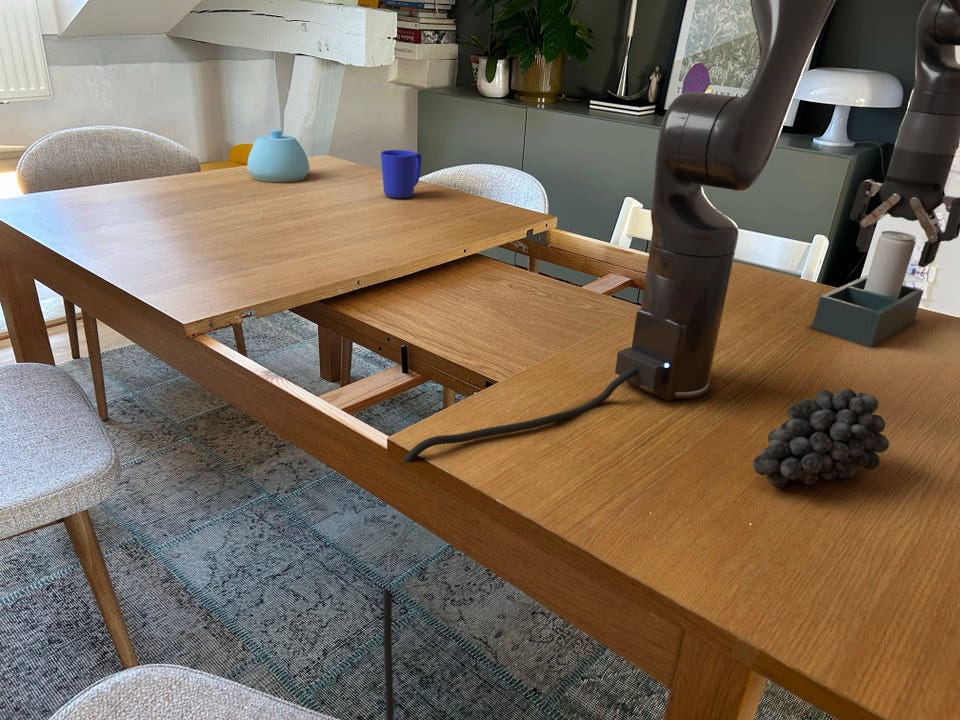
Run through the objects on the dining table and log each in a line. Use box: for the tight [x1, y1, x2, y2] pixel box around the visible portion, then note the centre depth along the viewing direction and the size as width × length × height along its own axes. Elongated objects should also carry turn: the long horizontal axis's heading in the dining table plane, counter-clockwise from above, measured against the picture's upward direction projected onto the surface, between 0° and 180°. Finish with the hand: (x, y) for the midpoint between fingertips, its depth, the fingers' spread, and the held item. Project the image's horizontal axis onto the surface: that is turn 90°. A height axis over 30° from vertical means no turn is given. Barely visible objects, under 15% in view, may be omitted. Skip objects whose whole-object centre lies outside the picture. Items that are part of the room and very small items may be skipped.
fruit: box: [752, 388, 890, 488], centre depth 71 cm, size 9×8×15 cm
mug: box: [380, 149, 422, 200], centre depth 172 cm, size 8×12×10 cm
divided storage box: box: [811, 274, 924, 348], centre depth 110 cm, size 9×16×5 cm, turn 132°
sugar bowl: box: [246, 128, 311, 183], centre depth 183 cm, size 15×15×12 cm
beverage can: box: [864, 230, 917, 299], centre depth 110 cm, size 5×5×12 cm
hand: (892, 258), depth 109 cm, fingers open, 8 cm apart
